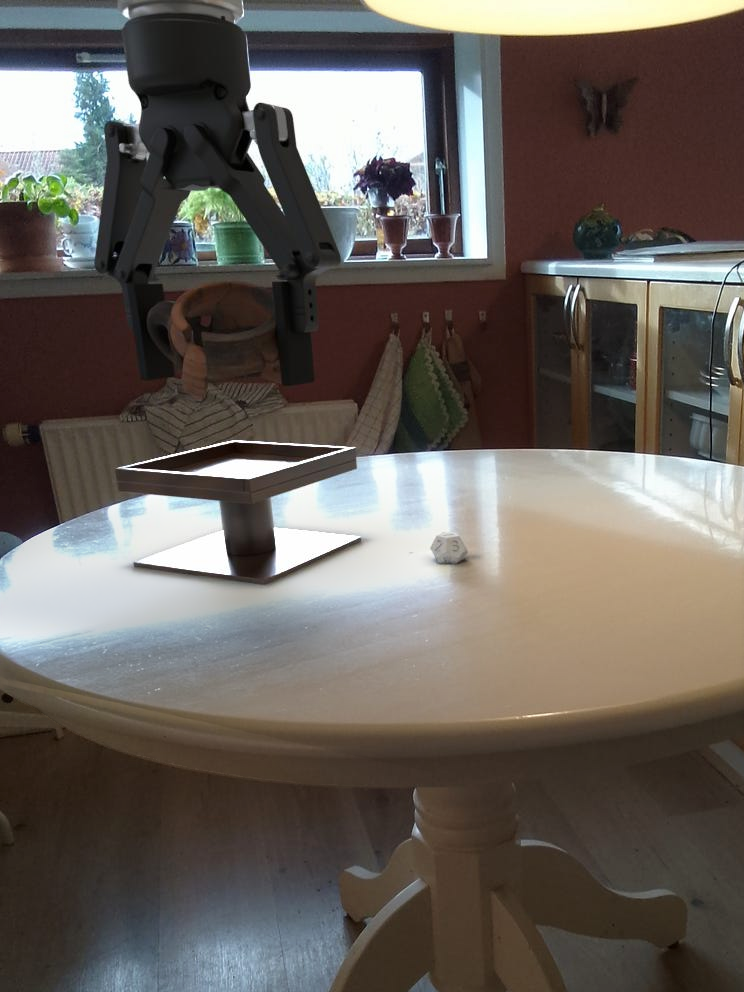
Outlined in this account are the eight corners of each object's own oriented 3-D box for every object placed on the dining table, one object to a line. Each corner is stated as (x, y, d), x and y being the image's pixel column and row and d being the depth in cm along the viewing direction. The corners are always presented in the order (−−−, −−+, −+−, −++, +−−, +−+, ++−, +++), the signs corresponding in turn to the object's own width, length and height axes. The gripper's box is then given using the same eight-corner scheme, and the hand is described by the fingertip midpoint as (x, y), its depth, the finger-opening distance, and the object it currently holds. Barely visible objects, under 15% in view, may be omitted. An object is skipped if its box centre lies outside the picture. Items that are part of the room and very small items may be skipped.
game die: (428, 561, 91) (426, 531, 90) (465, 558, 91) (464, 528, 90) (433, 571, 87) (431, 540, 86) (471, 568, 88) (470, 537, 87)
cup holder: (131, 573, 90) (113, 468, 86) (243, 531, 104) (232, 440, 100) (262, 591, 83) (249, 478, 79) (363, 544, 97) (356, 447, 93)
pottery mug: (328, 389, 69) (321, 289, 63) (265, 465, 64) (250, 364, 57) (189, 346, 72) (167, 245, 65) (115, 416, 66) (84, 313, 59)
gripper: (381, 10, 55) (399, 380, 63) (91, 57, 66) (138, 371, 74) (306, -23, 49) (337, 393, 57) (-1, 35, 59) (61, 381, 67)
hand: (225, 381), depth 65 cm, fingers closed on pottery mug, 12 cm apart
